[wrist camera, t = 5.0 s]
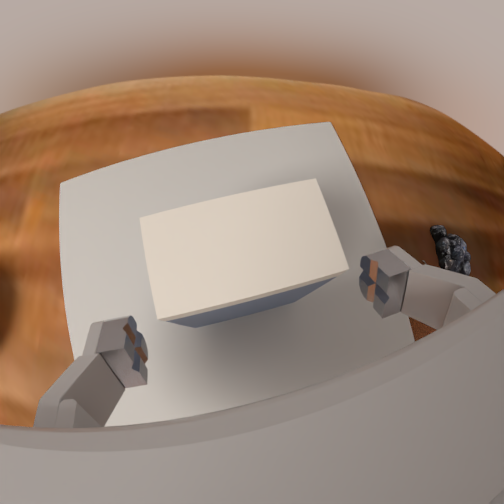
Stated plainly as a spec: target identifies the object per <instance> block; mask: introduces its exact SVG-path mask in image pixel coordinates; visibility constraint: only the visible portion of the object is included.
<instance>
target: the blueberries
mask: <svg viewBox="0 0 504 504" xmlns="http://www.w3.org/2000/svg"><path fill="white" fill-rule="evenodd" d="M430 232H431V235H432V237H433V239H434V241H435V244H436V253H437V256H438V259H439V266H440V267H441V269H445V270H449V271H452V272H456V273H460V274H463V275H467V276H469V274H470V271H471V269H470V263H469V262H470V259H471V256H470V253H469V252H467V246H466V243H465V242H464V241H463V239H462V238H460V237H459V236H458V235H453V234H448V236H447V233H446V229H445V228H444V226H442V225H435V226H432V227H431V228H430ZM422 261H423V260H422ZM424 262H425V261H424ZM425 264H426V263H425Z"/></svg>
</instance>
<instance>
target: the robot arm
mask: <svg viewBox="0 0 504 504" xmlns="http://www.w3.org/2000/svg"><path fill="white" fill-rule="evenodd" d="M360 267H361V268H362V270H363V272H362V273H361V275H360V276H359V286H360V290H361V293H362V295H363V296H364V298H365V299H366V300H367V301H370V302H373V308H374V309H375V311H376V312H377V313H378V314H379V315H380V316H381V318H382V319H383V318H385V317H388V316H391V315H393V314H396V313H398V312H401V313H403V314H405V315H407V316H409V317H411V318H413V319H416V320H418V321H420V322H422V323H424V324H426V325H428V326H430V327H432V328H434V329H436V331H435V332H433V333H431V334H429V335H427V336H425V337H423V338H421V339H419V340H417V341H415V342H413V343H411V344H409V345H407V346H405V347H403V348H401V349H399V350H397V351H395V352H392V353H390V354H388V355H386V356H384V357H381V358H379V359H377V360H375V361H372V362H370V363H368V364H365V365H363V366H360V367H358V368H356V369H353V370H351V371H348V372H346V373H343V374H340V375H338V376H335V377H332V378H330V379H327V380H324V381H321V382H318V383H316V384H313V385H310V386H307V387H304V388H301V389H298V390H294V391H291V392H288V393H285V394H282V395H278V396H275V397H271V398H268V399H264V400H260V401H257V402H253V403H249V404H245V405H241V406H237V407H233V408H228V409H224V410H220V411H215V412H210V413H205V414H200V415H195V416H189V417H183V418H177V419H171V420H164V421H157V422H149V423H141V424H132V425H121V426H107V427H104V426H105V424H106V423H107V421H108V419H109V417H110V416H111V414H112V412H113V410H114V409H115V407H116V405H117V403H118V402H119V400H120V398H121V396H122V395H123V393H124V391H125V388H131V387H136V386H142V385H147V380H148V369H147V367H146V366H145V363H146V362H147V360H148V349H147V344H146V341H145V339H144V337H143V335H142V333H140V332H138V331H137V330H136V329H137V323H136V321H135V319H134V318H133V317H132V316H131V315H129V316H124V317H118V318H113V319H108V320H103V321H98V322H93V323H92V324H91V325H90V328H89V332H88V335H87V339H86V343H85V346H84V350H83V354H82V356H78V357H77V359H76V360H75V361H74V362H73V363H72V364H71V365H70V366H69V367H68V368H67V369H66V371H65V372H64V373H63V374H62V375H61V376H60V377H59V378H58V379H57V380H56V382H55V383H54V384H53V385H52V386H51V387H50V388H49V389H48V391H47V392H46V393H45V394H44V395H43V396H42V397H41V399H40V400H39V404H38V408H37V412H36V417H35V421H34V426H33V427H23V426H10V425H1V424H0V504H504V289H503V290H501V291H500V292H499V293H497V294H495V293H494V292H493V291H492V290H491V289H490V288H488V287H487V286H486V285H485V284H483V283H482V282H481V281H480V280H479V279H477V278H474V277H470V276H467V275H463V274H460V273H456V272H452V271H449V270H445V269H441V268H438V267H434V266H430V265H427V264H425V265H422V264H420V263H419V262H418V261H417V260H415V259H414V258H413V257H412V256H410V255H409V254H408V253H407V252H405V251H404V250H403V249H401V248H400V247H399V246H392V247H389V248H386V249H384V250H381V251H378V252H375V253H371V254H368V255H365V256H362V258H361V260H360Z"/></svg>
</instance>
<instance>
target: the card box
mask: <svg viewBox="0 0 504 504" xmlns="http://www.w3.org/2000/svg"><path fill="white" fill-rule="evenodd" d="M140 226H141V233H142V240H143V246H144V252H145V258H146V264H147V270H148V276H149V281H150V286H151V291H152V296H153V301H154V306H155V311H156V315H157V319H158V320H162V321H166V322H170V323H175V324H179V325H183V326H188V327H192V328H198V327H202V326H206V325H211V324H215V323H219V322H223V321H227V320H231V319H235V318H239V317H242V316H246V315H250V314H254V313H258V312H261V311H265V310H269V309H272V308H276V307H279V306H283V305H286V304H290V303H293V302H296V301H297V300H299V299H301V298H302V297H304V296H306V295H307V294H309V293H311V292H313V291H314V290H316V289H318V288H319V287H321V286H323V285H324V284H326V283H327V282H329V281H331V280H332V279H334V278H336V277H337V276H339V275H341V274H342V273H344V272H345V271H347V270H349V267H348V264H347V261H346V258H345V255H344V252H343V249H342V246H341V243H340V240H339V238H338V235H337V232H336V229H335V227H334V224H333V221H332V218H331V216H330V213H329V210H328V208H327V205H326V203H325V200H324V198H323V195H322V192H321V190H320V187H319V185H318V182H317V180H316V178H315V179H309V180H303V181H298V182H293V183H287V184H282V185H277V186H272V187H267V188H262V189H257V190H253V191H248V192H243V193H238V194H234V195H229V196H225V197H221V198H216V199H212V200H208V201H203V202H199V203H195V204H191V205H187V206H183V207H179V208H175V209H171V210H167V211H163V212H159V213H155V214H152V215H148V216H144V217H140Z"/></svg>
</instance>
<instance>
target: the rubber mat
mask: <svg viewBox="0 0 504 504" xmlns="http://www.w3.org/2000/svg"><path fill="white" fill-rule="evenodd" d="M315 178H316V180H317V182H318V185H319V187H320V190H321V192H322V195H323V198H324V200H325V203H326V205H327V208H328V210H329V213H330V216H331V218H332V221H333V224H334V227H335V229H336V232H337V235H338V238H339V240H340V243H341V246H342V249H343V252H344V255H345V258H346V261H347V264H348V267H349V270H347V271H345V272H344V273H342V274H341V275H339V276H337V277H336V278H334V279H332V280H331V281H329V282H327V283H326V284H324V285H323V286H321V287H319V288H318V289H316V290H314V291H313V292H311V293H309V294H307V295H306V296H304V297H302V298H301V299H299V300H297V301H296V302H293V303H290V304H286V305H283V306H279V307H276V308H272V309H269V310H265V311H261V312H258V313H254V314H250V315H246V316H242V317H239V318H235V319H231V320H227V321H223V322H219V323H215V324H211V325H206V326H202V327H198V328H192V327H188V326H183V325H179V324H175V323H170V322H166V321H162V320H158V319H157V315H156V311H155V306H154V301H153V296H152V291H151V286H150V281H149V276H148V270H147V264H146V258H145V252H144V246H143V240H142V233H141V226H140V217H144V216H148V215H152V214H155V213H159V212H163V211H167V210H171V209H175V208H179V207H183V206H187V205H191V204H195V203H199V202H203V201H208V200H212V199H216V198H221V197H225V196H229V195H234V194H238V193H243V192H248V191H253V190H257V189H262V188H267V187H272V186H277V185H282V184H287V183H293V182H298V181H303V180H309V179H315ZM59 236H60V259H61V273H62V284H63V293H64V302H65V309H66V316H67V323H68V329H69V334H70V340H71V345H72V350H73V355H74V359H75V360H76V359H77V357H78V356H82V354H83V350H84V346H85V343H86V339H87V335H88V332H89V328H90V325H91V324H92V323H93V322H98V321H103V320H108V319H113V318H118V317H124V316H129V315H131V316H132V317H133V318H134V319H135V321H136V323H137V329H136V330H137V331H138V332H140V333H142V335H143V337H144V339H145V341H146V344H147V349H148V360H147V362H146V363H145V366H146V367H147V369H148V380H147V385H142V386H136V387H131V388H125V391H124V393H123V395H122V396H121V398H120V400H119V402H118V403H117V405H116V407H115V409H114V410H113V412H112V414H111V416H110V417H109V419H108V421H107V423H106V424H105V426H104V427H107V426H121V425H132V424H141V423H149V422H157V421H164V420H171V419H177V418H183V417H189V416H195V415H200V414H205V413H210V412H215V411H220V410H224V409H228V408H233V407H237V406H241V405H245V404H249V403H253V402H257V401H260V400H264V399H268V398H271V397H275V396H278V395H282V394H285V393H288V392H291V391H294V390H298V389H301V388H304V387H307V386H310V385H313V384H316V383H318V382H321V381H324V380H327V379H330V378H332V377H335V376H338V375H340V374H343V373H346V372H348V371H351V370H353V369H356V368H358V367H360V366H363V365H365V364H368V363H370V362H372V361H375V360H377V359H379V358H381V357H384V356H386V355H388V354H390V353H392V352H395V351H397V350H399V349H401V348H403V347H405V346H407V345H409V344H411V343H413V342H415V340H414V336H413V332H412V328H411V324H410V321H409V317H408V316H407V315H405V314H403V313H401V312H398V313H396V314H393V315H391V316H388V317H385V318H383V319H382V318H381V316H380V315H379V314H378V313H377V312H376V311H375V309H374V308H373V302H370V301H367V300H366V299H365V298H364V296H363V295H362V293H361V290H360V286H359V276H360V275H361V273H362V272H363V270H362V268H361V267H360V260H361V258H362V256H365V255H368V254H371V253H375V252H378V251H381V250H384V249H386V245H385V242H384V239H383V237H382V234H381V231H380V229H379V226H378V224H377V221H376V219H375V216H374V214H373V211H372V209H371V206H370V204H369V202H368V199H367V197H366V195H365V192H364V190H363V188H362V185H361V183H360V181H359V179H358V176H357V174H356V172H355V170H354V168H353V166H352V164H351V161H350V159H349V157H348V155H347V153H346V151H345V149H344V147H343V145H342V143H341V141H340V139H339V137H338V135H337V133H336V131H335V129H334V128H333V126H332V124H331V122H322V123H312V124H303V125H294V126H286V127H279V128H272V129H265V130H258V131H252V132H246V133H240V134H235V135H229V136H224V137H219V138H214V139H209V140H205V141H200V142H195V143H191V144H187V145H182V146H178V147H174V148H170V149H166V150H162V151H158V152H155V153H151V154H147V155H144V156H140V157H137V158H133V159H130V160H126V161H123V162H120V163H117V164H114V165H110V166H107V167H104V168H101V169H98V170H95V171H92V172H89V173H87V174H84V175H81V176H78V177H75V178H73V179H70V180H67V181H65V182H62V183H60V202H59Z"/></svg>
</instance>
